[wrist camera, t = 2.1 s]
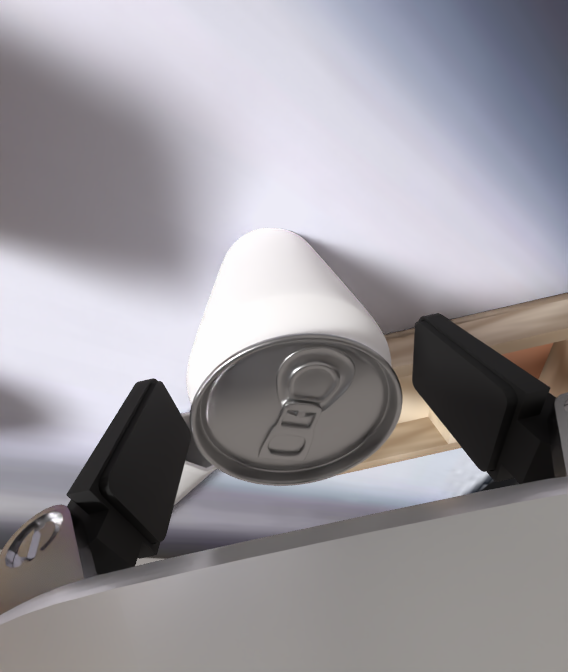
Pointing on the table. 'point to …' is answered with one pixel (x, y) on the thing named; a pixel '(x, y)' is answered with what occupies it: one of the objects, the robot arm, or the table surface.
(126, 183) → the table surface
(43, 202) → the table surface
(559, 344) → the slot rack
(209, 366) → the can
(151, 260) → the table surface
